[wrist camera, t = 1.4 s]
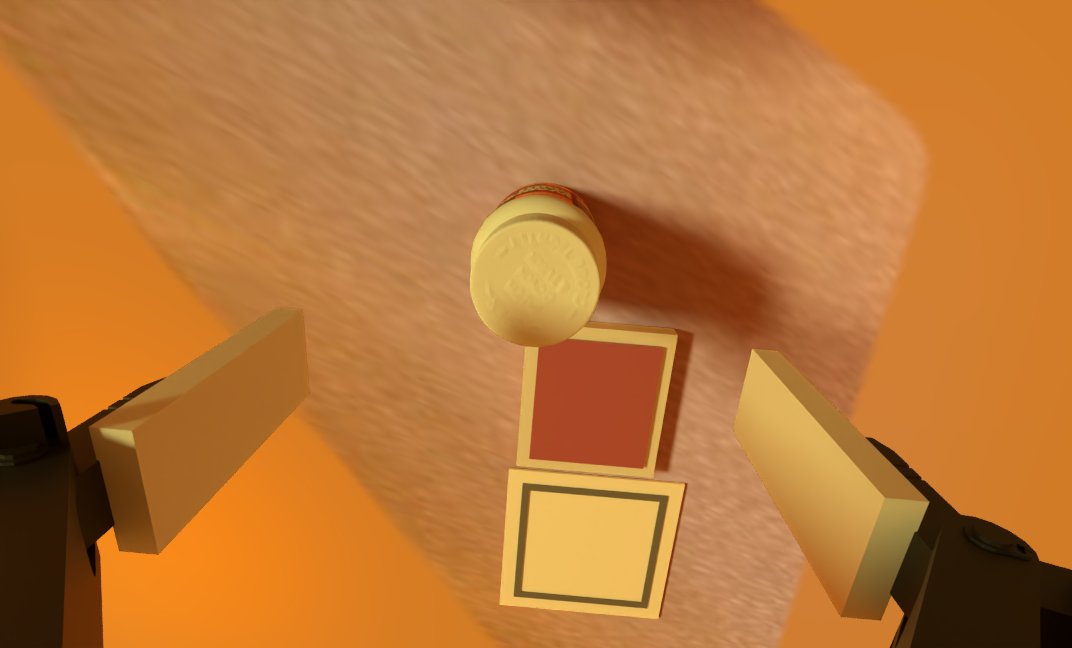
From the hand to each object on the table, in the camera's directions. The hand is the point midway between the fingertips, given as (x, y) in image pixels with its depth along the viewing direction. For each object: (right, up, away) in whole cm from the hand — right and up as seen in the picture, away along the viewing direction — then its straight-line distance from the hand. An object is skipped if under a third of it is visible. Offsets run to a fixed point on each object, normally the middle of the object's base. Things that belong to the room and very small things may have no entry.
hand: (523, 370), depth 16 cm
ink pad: (+4, -3, +19) cm, 19 cm away
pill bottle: (+1, +7, +16) cm, 17 cm away
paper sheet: (+4, -15, +23) cm, 27 cm away
